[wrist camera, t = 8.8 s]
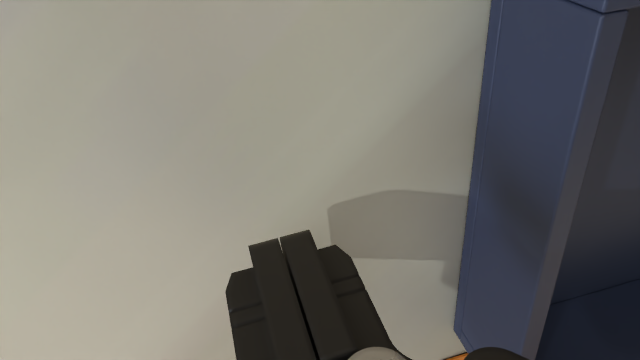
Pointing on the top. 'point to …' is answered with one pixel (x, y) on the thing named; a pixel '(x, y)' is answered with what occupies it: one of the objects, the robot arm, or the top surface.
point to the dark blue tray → (556, 184)
